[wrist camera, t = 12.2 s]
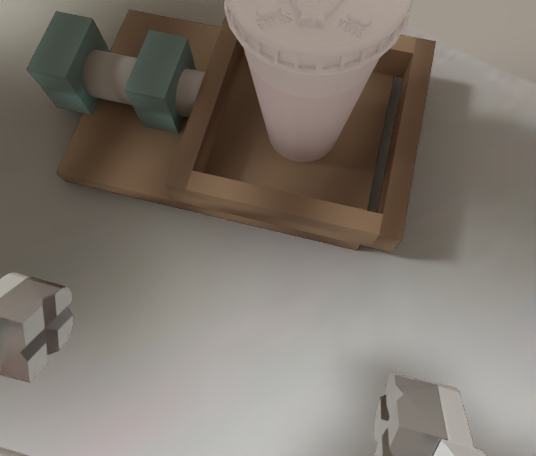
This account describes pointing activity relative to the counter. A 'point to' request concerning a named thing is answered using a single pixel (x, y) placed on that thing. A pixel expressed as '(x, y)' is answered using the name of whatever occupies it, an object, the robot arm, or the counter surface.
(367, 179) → the brown wooden tray
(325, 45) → the smoothie
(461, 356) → the counter surface
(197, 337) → the counter surface
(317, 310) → the counter surface
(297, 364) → the counter surface
